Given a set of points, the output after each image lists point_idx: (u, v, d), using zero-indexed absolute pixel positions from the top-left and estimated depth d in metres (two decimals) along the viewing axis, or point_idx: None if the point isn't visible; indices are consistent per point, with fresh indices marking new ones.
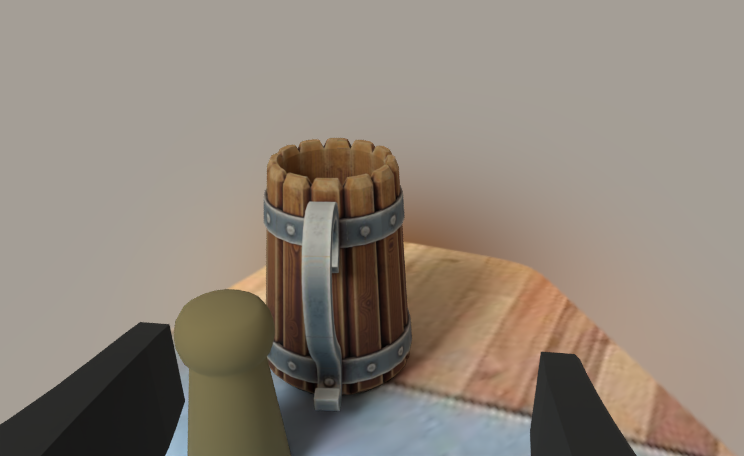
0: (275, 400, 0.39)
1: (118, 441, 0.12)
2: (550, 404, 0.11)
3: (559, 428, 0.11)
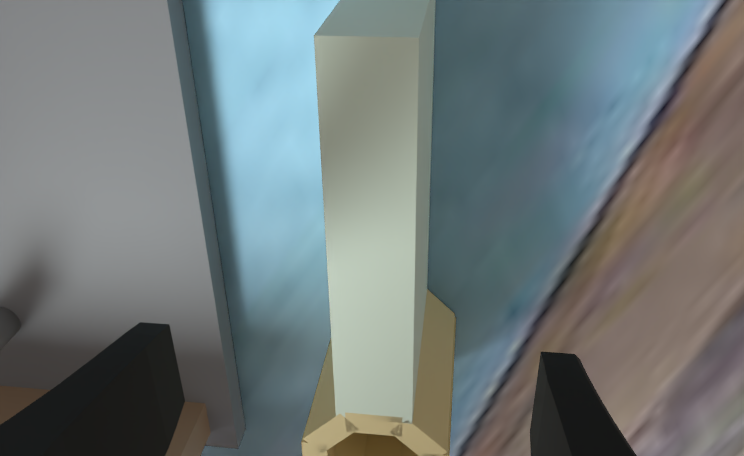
0: None
1: (118, 442, 0.12)
2: (550, 404, 0.11)
3: (559, 428, 0.11)
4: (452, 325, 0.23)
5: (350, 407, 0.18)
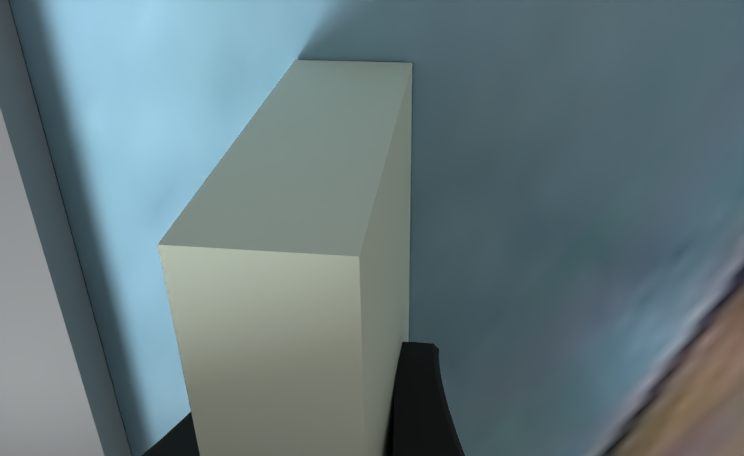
0: None
1: None
2: None
3: None
4: None
5: None
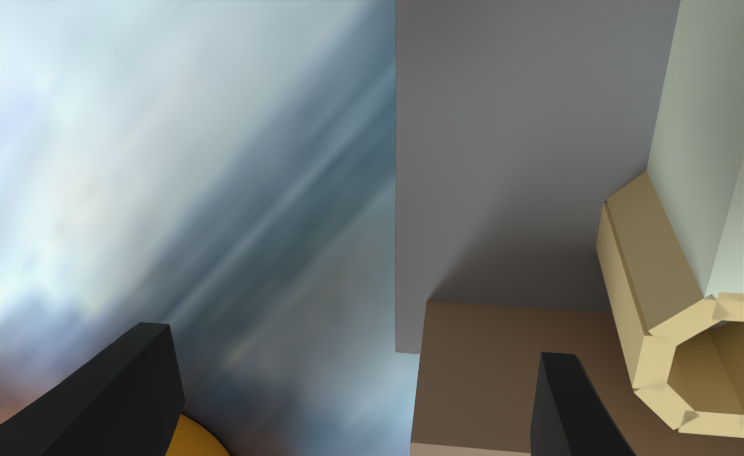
0: None
1: (117, 442, 0.12)
2: (550, 404, 0.11)
3: (559, 428, 0.11)
4: None
5: (729, 284, 0.14)
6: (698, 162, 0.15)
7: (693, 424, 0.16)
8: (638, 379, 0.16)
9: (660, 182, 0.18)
